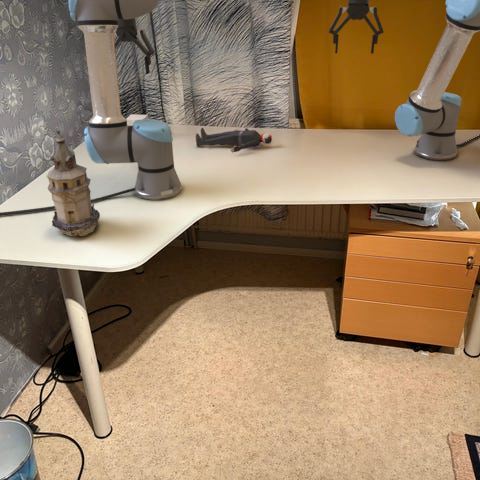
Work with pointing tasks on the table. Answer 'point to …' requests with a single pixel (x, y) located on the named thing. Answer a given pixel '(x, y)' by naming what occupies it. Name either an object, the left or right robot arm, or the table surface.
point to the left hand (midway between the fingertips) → (131, 73)
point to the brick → (133, 118)
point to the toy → (234, 139)
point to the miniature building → (70, 193)
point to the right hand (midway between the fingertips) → (354, 52)
